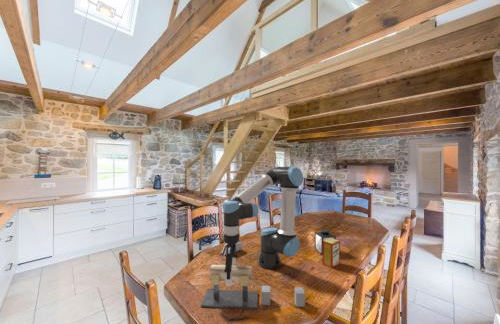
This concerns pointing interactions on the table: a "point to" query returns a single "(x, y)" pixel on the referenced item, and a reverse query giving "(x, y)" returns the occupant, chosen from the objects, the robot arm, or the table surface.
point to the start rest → (298, 296)
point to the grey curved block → (238, 247)
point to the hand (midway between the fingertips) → (230, 277)
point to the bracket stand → (230, 295)
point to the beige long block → (236, 272)
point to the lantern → (322, 238)
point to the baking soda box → (331, 252)
